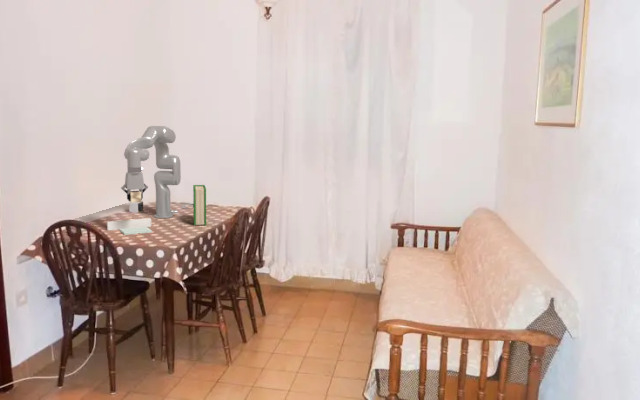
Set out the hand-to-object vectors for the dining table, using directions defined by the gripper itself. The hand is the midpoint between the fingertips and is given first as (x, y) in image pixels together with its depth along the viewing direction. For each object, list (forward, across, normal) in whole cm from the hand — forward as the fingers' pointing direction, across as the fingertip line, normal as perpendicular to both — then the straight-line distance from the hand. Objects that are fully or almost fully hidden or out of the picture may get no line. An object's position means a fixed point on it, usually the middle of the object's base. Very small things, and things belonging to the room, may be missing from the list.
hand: (135, 199), depth 321 cm
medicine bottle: (+19, -16, -63) cm, 68 cm away
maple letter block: (+1, 0, 0) cm, 1 cm away
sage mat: (+19, 0, 0) cm, 19 cm away
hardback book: (+19, -43, -8) cm, 48 cm away
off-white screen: (+19, +1, -11) cm, 22 cm away
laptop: (+20, -58, -68) cm, 92 cm away
